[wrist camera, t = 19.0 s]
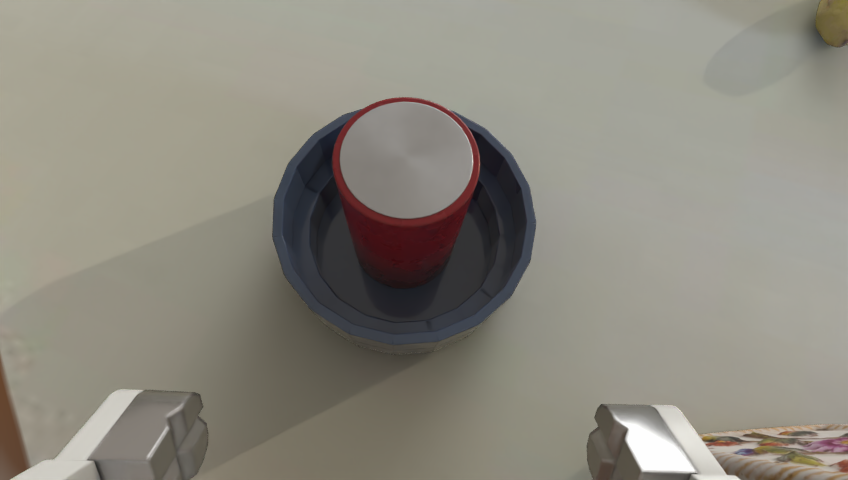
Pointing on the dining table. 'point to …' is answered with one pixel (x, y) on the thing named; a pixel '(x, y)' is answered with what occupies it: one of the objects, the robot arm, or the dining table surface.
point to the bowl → (393, 307)
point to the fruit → (833, 22)
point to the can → (405, 187)
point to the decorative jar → (783, 452)
